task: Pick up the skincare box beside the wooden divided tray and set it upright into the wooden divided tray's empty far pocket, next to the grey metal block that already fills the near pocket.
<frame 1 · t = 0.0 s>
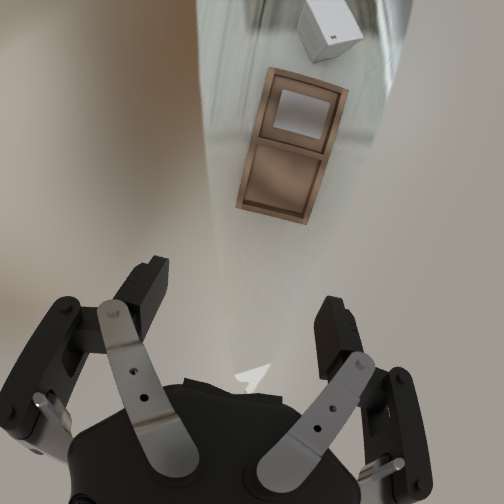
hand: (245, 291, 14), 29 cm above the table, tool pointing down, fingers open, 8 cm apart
skincare box: (317, 41, 29), on the table
wooden divided tray: (289, 145, 37), on the table
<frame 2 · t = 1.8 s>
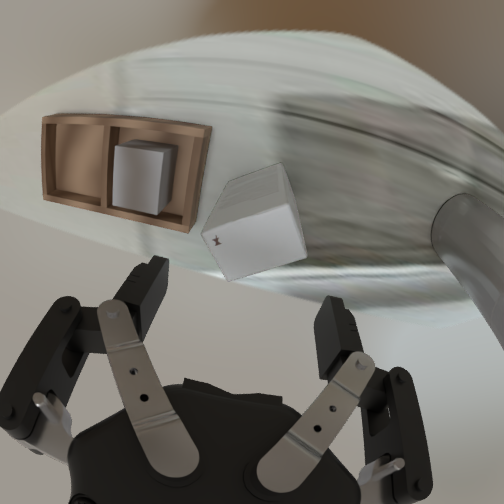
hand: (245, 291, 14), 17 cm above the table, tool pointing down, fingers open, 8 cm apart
skincare box: (262, 188, 28), on the table
wooden divided tray: (118, 161, 27), on the table
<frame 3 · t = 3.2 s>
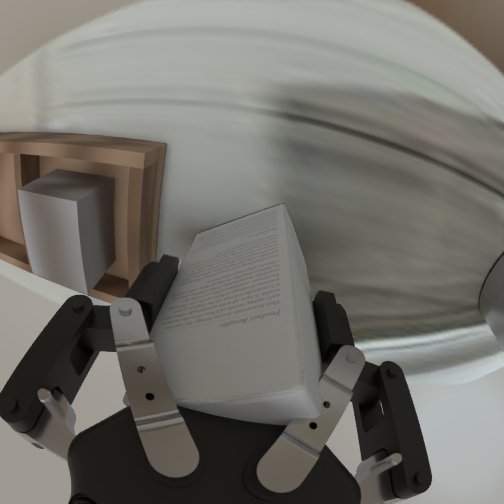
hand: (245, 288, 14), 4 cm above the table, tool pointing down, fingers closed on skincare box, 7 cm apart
skincare box: (252, 244, 18), on the table, touching gripper
wooden divided tray: (46, 198, 17), on the table
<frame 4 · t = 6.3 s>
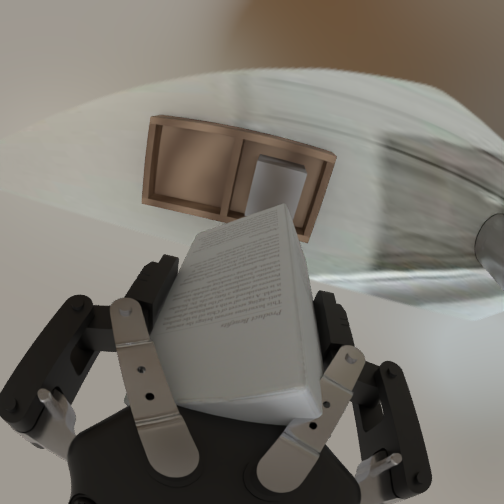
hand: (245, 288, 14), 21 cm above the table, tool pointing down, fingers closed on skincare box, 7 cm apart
skincare box: (253, 244, 18), point 16 cm above the table, touching gripper
wooden divided tray: (235, 171, 32), on the table
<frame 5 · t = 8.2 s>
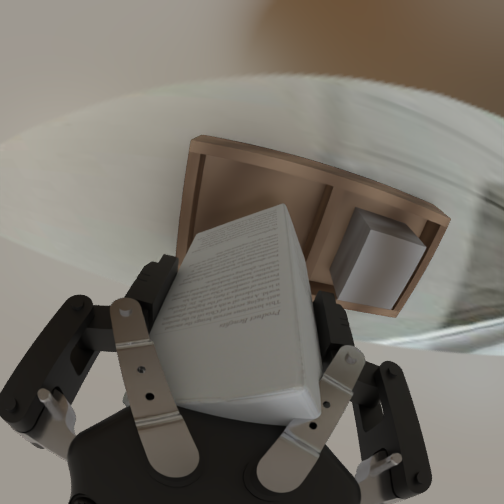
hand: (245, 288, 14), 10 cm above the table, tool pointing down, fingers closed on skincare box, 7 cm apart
skincare box: (252, 243, 18), point 5 cm above the table, touching gripper
wooden divided tray: (313, 227, 22), on the table
when the fingers open (7 cm above the table, at t = 9.5 s): skincare box drops 1 cm, resting on wooden divided tray.
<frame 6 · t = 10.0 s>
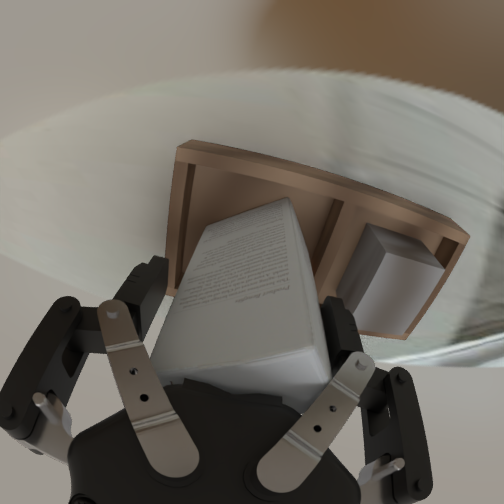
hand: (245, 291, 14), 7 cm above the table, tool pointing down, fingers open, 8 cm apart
skincare box: (259, 235, 19), point 1 cm above the table, touching gripper, wooden divided tray
wooden divided tray: (318, 244, 20), on the table
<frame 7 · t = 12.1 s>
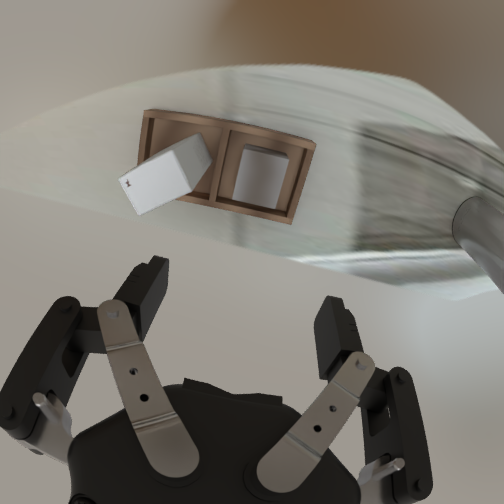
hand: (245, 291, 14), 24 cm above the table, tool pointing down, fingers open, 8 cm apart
skincare box: (187, 155, 33), point 1 cm above the table, touching wooden divided tray
wooden divided tray: (222, 160, 34), on the table
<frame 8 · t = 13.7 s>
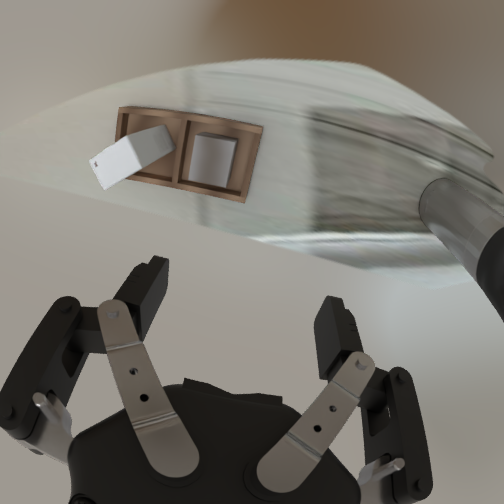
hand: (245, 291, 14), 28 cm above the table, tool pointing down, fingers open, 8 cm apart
skincare box: (155, 144, 36), point 1 cm above the table, touching wooden divided tray
wooden divided tray: (185, 148, 37), on the table
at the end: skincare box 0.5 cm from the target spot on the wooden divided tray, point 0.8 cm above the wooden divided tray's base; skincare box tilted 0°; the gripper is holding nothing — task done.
